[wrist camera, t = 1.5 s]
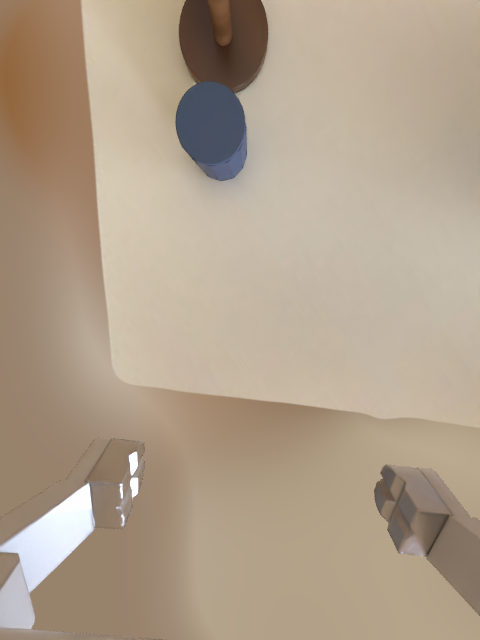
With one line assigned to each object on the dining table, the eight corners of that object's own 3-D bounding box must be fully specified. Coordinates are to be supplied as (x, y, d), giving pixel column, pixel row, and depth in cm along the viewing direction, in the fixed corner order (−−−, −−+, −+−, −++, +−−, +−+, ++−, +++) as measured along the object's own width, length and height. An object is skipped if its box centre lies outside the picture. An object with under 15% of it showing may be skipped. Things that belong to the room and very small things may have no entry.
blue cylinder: (222, 110, 30) (211, 61, 21) (256, 154, 32) (259, 127, 22) (186, 150, 32) (161, 121, 22) (220, 191, 33) (209, 179, 24)
